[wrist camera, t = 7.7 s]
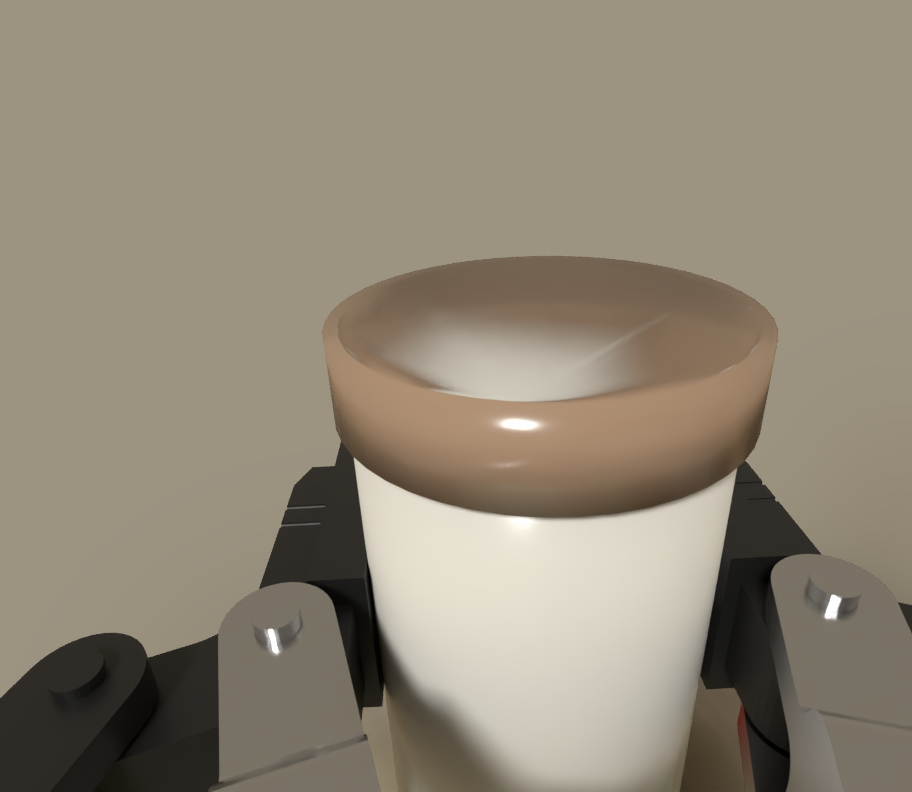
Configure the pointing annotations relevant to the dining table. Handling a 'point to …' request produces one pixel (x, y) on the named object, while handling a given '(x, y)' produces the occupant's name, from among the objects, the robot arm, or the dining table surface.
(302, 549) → the robot arm
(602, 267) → the jar
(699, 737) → the dining table surface
